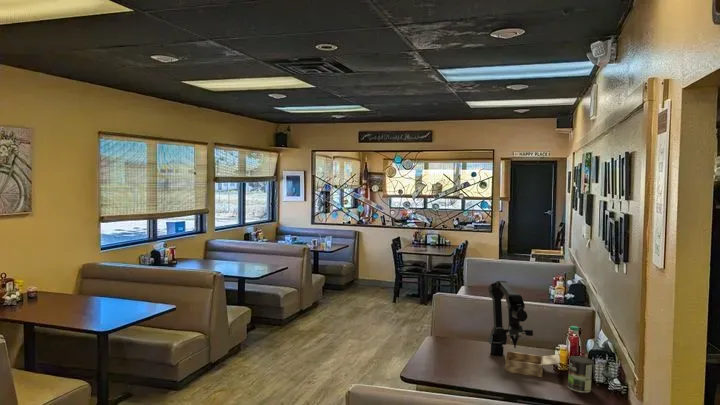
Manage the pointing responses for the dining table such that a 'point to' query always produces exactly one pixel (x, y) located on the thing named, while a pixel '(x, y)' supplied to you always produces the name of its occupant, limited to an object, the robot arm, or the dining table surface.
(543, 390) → the dining table surface
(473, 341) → the dining table surface
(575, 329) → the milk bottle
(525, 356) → the carton
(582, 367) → the coffee can
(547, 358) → the flap
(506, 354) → the flap
